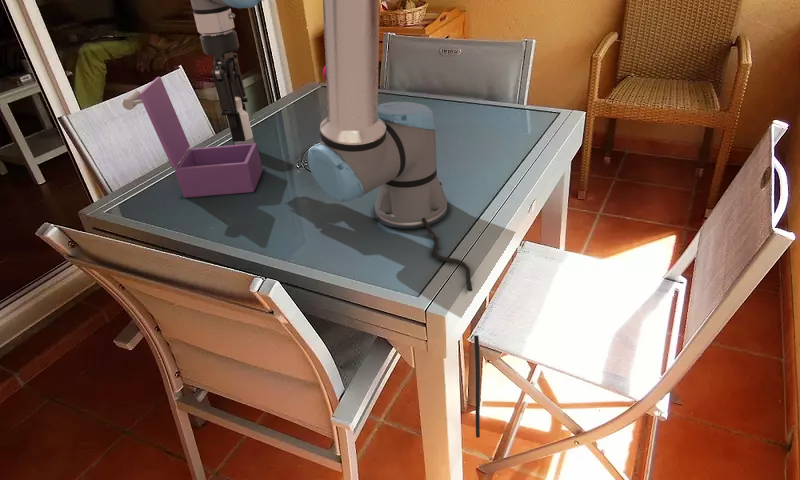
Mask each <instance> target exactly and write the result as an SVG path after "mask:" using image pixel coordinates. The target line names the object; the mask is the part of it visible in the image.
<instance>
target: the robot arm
mask: <svg viewBox="0 0 800 480" xmlns="http://www.w3.org/2000/svg"><path fill="white" fill-rule="evenodd" d="M189 1H190V4H191V8H192V13H193V16H194V17H193V18H194V21H195V25H196V30H197V32H198V33H199V34H200V35H199V41H200V44H201V49H202V52H203V53H204V54H205V55H207V56H208V55H209V56H212V57H213V63H212V66H213V70H211V76H212V78H213V81H214V86H215V89H216V93H217V97H218V101H219V105H220V110H221V116H225V117H226V116H227V117H226V120H228V121H227V124H229V125H228V129H229V128H230V129H229V132H231V133H230V137H231V136H232V137H231V140H232V142H233V143H235V142H240V141H245V135H244V131H243V127H242V123H241V118H240V114H239V112H238V113H237V107H236V101H235V97H240V98H241V102H242V108H243V110H244V111H247V108H246V104H245V103H248V102H249V98H248V97H246V96H247V95H246V94H247V93H246V91H245V90H246V89H245V87H244V82H243V77H242V73H241V69H240V65H239V57H238V53H234V52H236V51H238V50H239V48H240V44H239V39H238V34H237V32H236V30H235V26H236V25H235V22H234V19H235V18H236V14H235V13H233V12H232V9H231V8H234V9H235V8H236V9H250V8H254V7H255V6H257V5H258V4H259V3H260V2H263V1H264V0H189ZM322 13H323V15H322V16H323V35H324V37H323V38H324V55H325V56H324V59H325V66H326V79H325V80H326V82H327V83H326V82H325V83H326V99H327V101H326V102H327V107H328V116H326V117H325V118H324V119H323V120H321V122H320V125H319V135H320V136H319V138H320V139H319V140H320V141H319V143H314V144H313V146H311V148H310V149H309V150H308V152H307V163H308V167H309V170H310V172H311V175H312V178H313V179H314V181H315V182H316V183H317V185H318V187H319V188H320V189H321V190H322V191H323V192H324V193H325V195H327V196H328V197H329V198H330V199H332V200H334V201H336V202H339V203H349V202H351V201H354V200H357V199H360V198H362V197H364V196H365V195H366V194H368V193H370V192H372V191H374V190H375V189H377V188H378V191H377V195H376V199H375V203H374V212H375V217H376V219H377V221H379V223H381V224H383V225H384V226H386V227H390V228H393V229H398V230H417V229H423V228H425V229H426V230H427V232H428V233H429V236H430V237H431V239H432V241H433V247H432V255H433V256H434V257H435V259H437V260H439V261H440V262H446V263H451V264H457V265H459V266H461V267H462V268H463V269H464V271H465V281H466V287H467V291H469V292H473V286H472V281H471V269H470V267H469V265H467V264H466V263H465V262H464V261H462V260H460V259H457V258H452V257H446V256H442V255H440V254H439V253H438V248H439V240H438V237H437V235H436V234H435V232H434V231H433V229H432V228H431V226H432V225H434V224H436V223H438V222H440V221H441V220H442V219H444V217H445V216H446V215H447V213H448V200H447V196H446V195H445V194H446V193H445V192H444V190H443V183H442V182H441V181H440V179H439V177H438V171H437V169H438V165H437V163H438V162H437V140H436V138H437V137H436V129H437V128H436V125H435V115H434V112H433V111H432V109H431V108H430V107H429V106H428V105H425V104H421V103H418V102H410V101H391V102H383V103H381V104H379V65H380V64H379V63H380V62H379V59H380V58H379V57H380V56H379V55H380V0H322ZM479 337H480V336H479V335H478V334H477V335H473V341H474V342H473V343H474V360H475V361H474V362H475V364H474V365H475V366H474V367H475V437H476V438H477V439H479V438H480V436H481V431H480V429H481V426H480V424H481V422H480V412H481V411H480V409H481V407H480V405H481V404H480V403H481V402H480V401H481V400H480V399H481V397H480V396H481V360H480V359H481V357H480V338H479Z"/></svg>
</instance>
